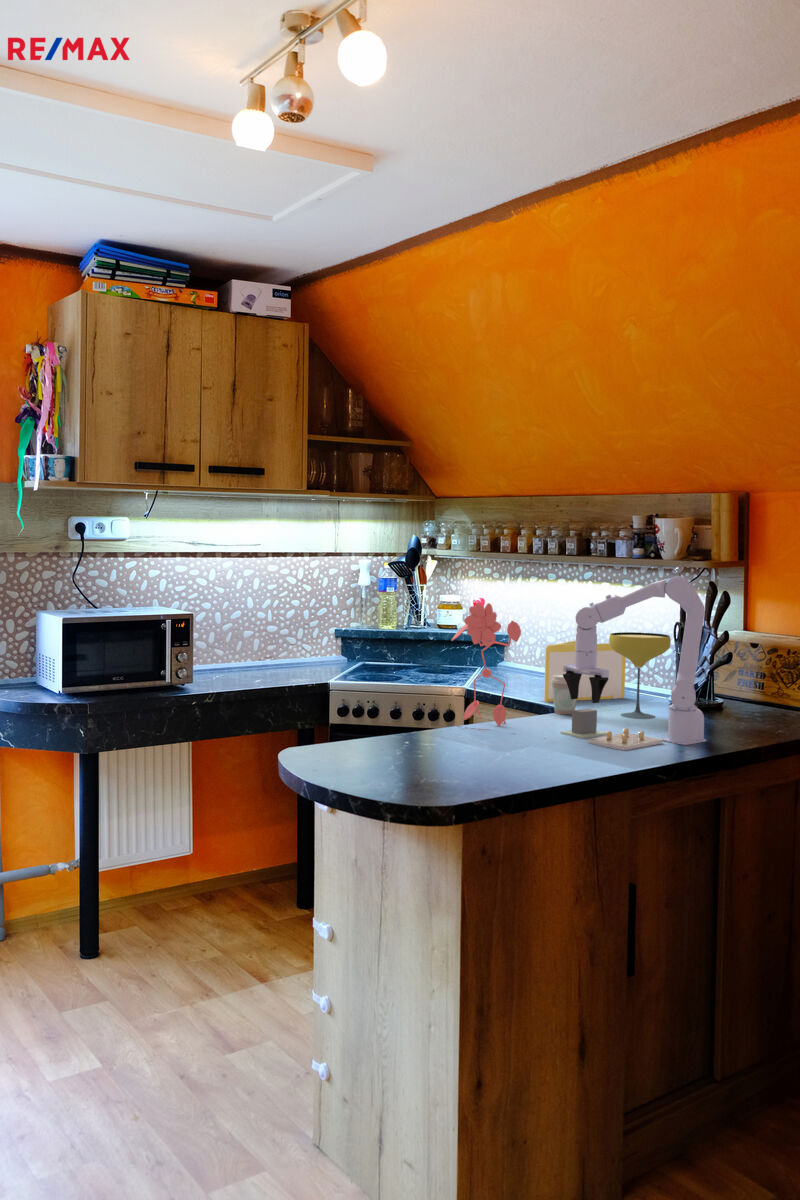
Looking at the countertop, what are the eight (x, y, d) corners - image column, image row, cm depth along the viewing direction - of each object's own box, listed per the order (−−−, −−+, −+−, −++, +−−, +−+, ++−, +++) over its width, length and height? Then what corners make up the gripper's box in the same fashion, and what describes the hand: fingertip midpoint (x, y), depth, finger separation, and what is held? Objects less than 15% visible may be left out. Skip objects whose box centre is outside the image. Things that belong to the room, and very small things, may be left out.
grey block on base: (585, 731, 279) (586, 706, 279) (607, 736, 273) (608, 710, 272) (560, 735, 273) (561, 709, 273) (582, 740, 267) (583, 714, 266)
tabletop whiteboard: (574, 691, 356) (575, 636, 355) (633, 696, 345) (635, 640, 344) (536, 703, 326) (537, 644, 325) (600, 710, 315) (601, 648, 314)
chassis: (626, 736, 272) (626, 725, 271) (662, 743, 262) (663, 732, 262) (587, 742, 262) (587, 731, 261) (623, 750, 252) (624, 738, 252)
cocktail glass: (657, 724, 291) (660, 638, 289) (598, 717, 300) (600, 635, 299) (675, 715, 306) (678, 634, 305) (618, 709, 316) (620, 631, 314)
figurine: (461, 716, 299) (463, 599, 297) (530, 728, 281) (533, 604, 279) (426, 722, 288) (428, 601, 286) (495, 735, 270) (498, 606, 268)
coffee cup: (549, 716, 302) (550, 676, 301) (551, 711, 310) (552, 673, 309) (577, 717, 300) (578, 678, 299) (579, 713, 308) (580, 674, 307)
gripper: (556, 649, 275) (555, 698, 275) (597, 654, 263) (595, 705, 264) (573, 648, 279) (572, 696, 280) (614, 653, 268) (613, 703, 269)
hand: (584, 700), depth 272 cm, fingers open, 7 cm apart
